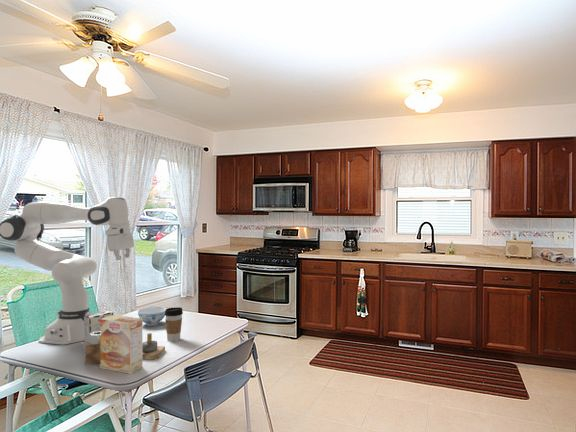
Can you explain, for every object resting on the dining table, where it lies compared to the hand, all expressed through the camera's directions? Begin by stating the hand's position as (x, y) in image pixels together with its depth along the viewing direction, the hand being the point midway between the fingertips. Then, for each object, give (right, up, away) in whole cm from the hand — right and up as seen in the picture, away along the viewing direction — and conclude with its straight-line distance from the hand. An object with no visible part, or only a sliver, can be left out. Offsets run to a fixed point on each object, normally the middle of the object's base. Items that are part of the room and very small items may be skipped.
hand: (123, 258), depth 184 cm
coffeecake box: (+14, -39, -34) cm, 54 cm away
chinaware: (+5, -39, +26) cm, 47 cm away
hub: (+20, -39, -20) cm, 48 cm away
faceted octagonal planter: (+2, -31, -27) cm, 41 cm away
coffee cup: (+24, -39, 0) cm, 46 cm away
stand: (+2, -39, -27) cm, 48 cm away
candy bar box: (-4, -39, -15) cm, 42 cm away
